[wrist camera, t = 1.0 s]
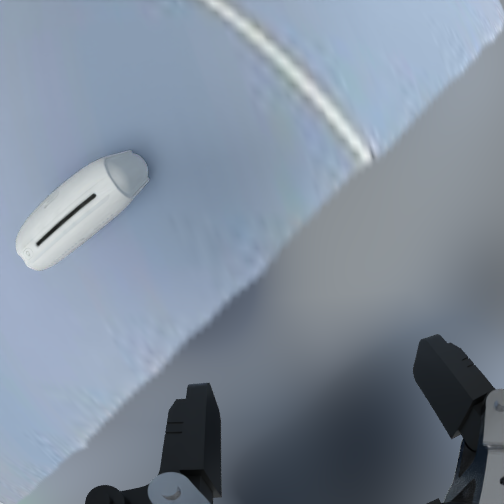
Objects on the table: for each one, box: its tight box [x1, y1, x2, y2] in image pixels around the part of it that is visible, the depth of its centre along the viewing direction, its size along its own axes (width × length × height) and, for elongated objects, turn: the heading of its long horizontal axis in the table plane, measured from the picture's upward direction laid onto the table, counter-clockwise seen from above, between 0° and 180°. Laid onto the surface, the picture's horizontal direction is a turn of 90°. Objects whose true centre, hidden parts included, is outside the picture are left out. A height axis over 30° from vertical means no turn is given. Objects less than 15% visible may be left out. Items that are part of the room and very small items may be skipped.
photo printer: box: [16, 150, 149, 271], centre depth 22 cm, size 10×4×12 cm, turn 119°
